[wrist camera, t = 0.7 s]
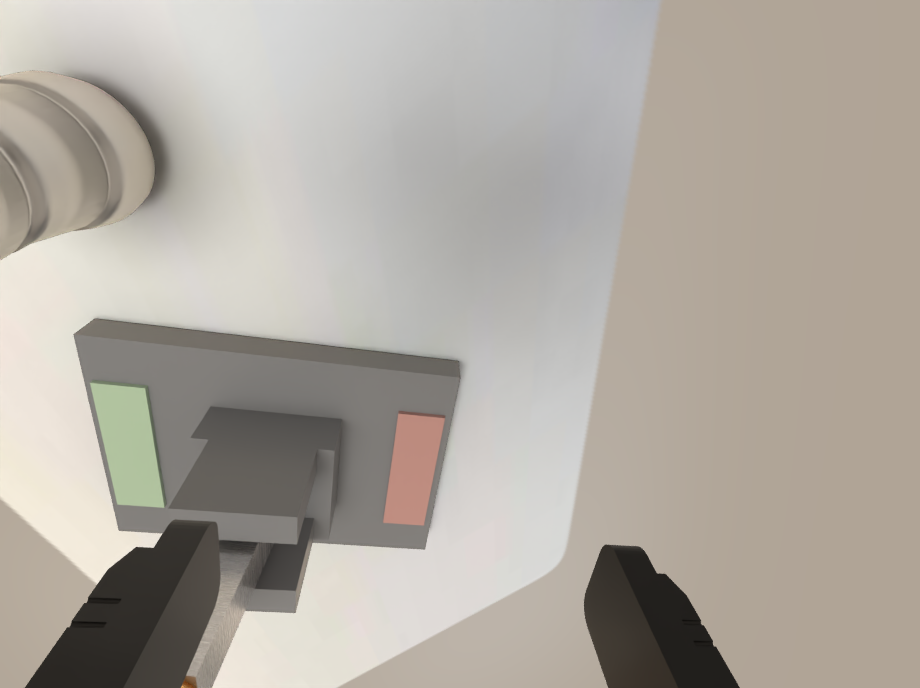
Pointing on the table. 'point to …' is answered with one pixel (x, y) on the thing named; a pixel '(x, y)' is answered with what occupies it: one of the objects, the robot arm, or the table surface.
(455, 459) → the table surface
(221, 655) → the lever
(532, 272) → the table surface
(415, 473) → the switch box
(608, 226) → the table surface
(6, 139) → the plastic bottle
